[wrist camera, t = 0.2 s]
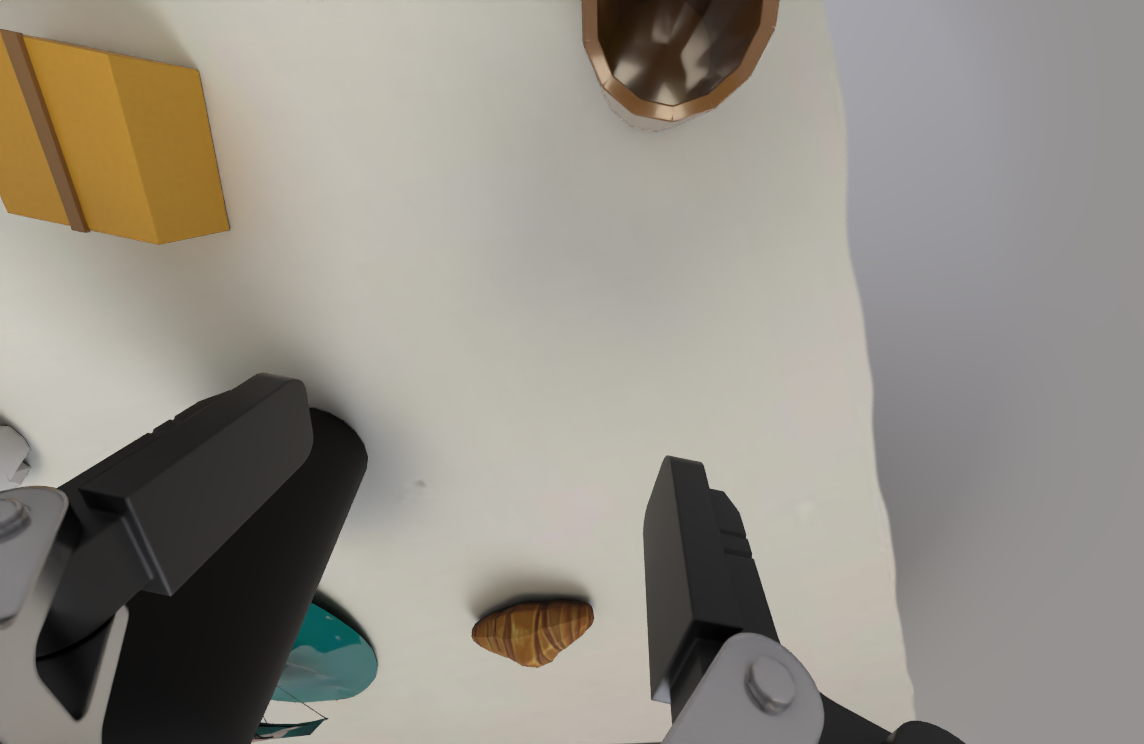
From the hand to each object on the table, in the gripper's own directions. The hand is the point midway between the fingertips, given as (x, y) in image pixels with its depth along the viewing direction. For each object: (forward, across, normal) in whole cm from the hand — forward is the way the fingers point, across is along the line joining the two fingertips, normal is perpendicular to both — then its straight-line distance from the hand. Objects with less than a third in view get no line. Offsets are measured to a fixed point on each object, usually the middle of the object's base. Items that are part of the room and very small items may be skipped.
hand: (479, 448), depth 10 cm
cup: (+20, -3, -10) cm, 22 cm away
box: (+20, +27, -1) cm, 34 cm away
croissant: (+20, -2, +37) cm, 42 cm away
